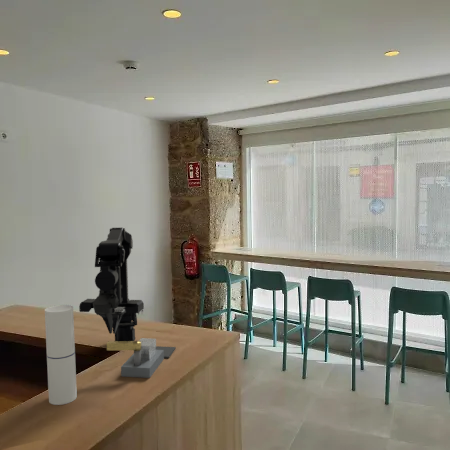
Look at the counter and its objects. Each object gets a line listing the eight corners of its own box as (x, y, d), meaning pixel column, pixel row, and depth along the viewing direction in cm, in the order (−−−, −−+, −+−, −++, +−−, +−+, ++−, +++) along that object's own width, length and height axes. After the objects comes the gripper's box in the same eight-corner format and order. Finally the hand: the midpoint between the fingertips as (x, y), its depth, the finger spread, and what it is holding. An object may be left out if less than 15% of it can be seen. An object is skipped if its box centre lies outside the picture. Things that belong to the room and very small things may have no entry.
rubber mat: (134, 356, 149) (134, 355, 149) (143, 347, 158) (143, 345, 158) (168, 358, 147) (168, 356, 147) (175, 348, 156) (175, 347, 156)
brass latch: (140, 350, 133) (140, 343, 133) (106, 350, 133) (106, 343, 133) (142, 347, 135) (142, 340, 135) (109, 347, 136) (108, 340, 136)
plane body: (121, 376, 134) (120, 352, 133) (138, 357, 148) (137, 335, 148) (149, 377, 132) (149, 353, 132) (164, 358, 147) (163, 336, 146)
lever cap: (134, 359, 139) (133, 345, 138) (141, 351, 146) (141, 338, 145) (149, 360, 138) (149, 346, 138) (156, 352, 145) (155, 338, 145)
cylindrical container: (50, 407, 115) (46, 313, 113) (47, 396, 121) (43, 307, 119) (78, 400, 118) (75, 309, 116) (74, 390, 125) (71, 303, 123)
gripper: (69, 288, 128) (71, 341, 129) (130, 289, 125) (132, 343, 126) (86, 280, 139) (88, 329, 140) (143, 281, 136) (145, 331, 137)
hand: (112, 333), depth 136 cm, fingers closed
